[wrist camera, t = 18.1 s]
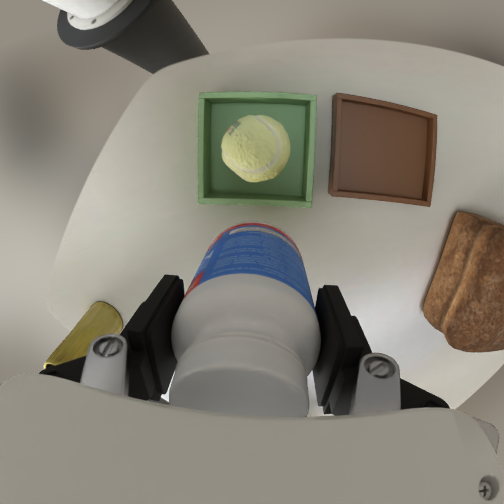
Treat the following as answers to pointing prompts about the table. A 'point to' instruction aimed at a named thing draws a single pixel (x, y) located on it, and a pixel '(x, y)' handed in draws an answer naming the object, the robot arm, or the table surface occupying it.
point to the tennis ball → (256, 148)
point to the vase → (86, 333)
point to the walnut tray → (382, 151)
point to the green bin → (232, 185)
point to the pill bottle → (246, 328)
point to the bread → (470, 286)
